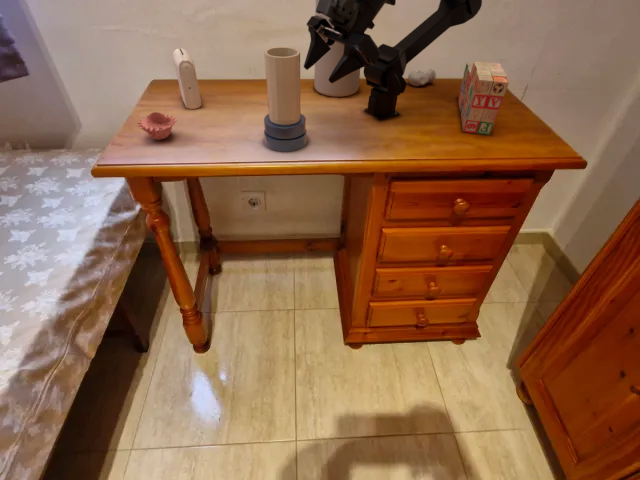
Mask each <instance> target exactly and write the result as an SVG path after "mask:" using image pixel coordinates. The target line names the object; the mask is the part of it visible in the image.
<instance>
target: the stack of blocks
mask: <svg viewBox="0 0 640 480" xmlns="http://www.w3.org/2000/svg"><path fill="white" fill-rule="evenodd" d="M509 85H510V81H509V80H508V76H507V74H506V72H505V70H504V68H503V66H502V65H501V63H498V62H487V61H486V62H485V61H473V62H466V64H465V66H464V72H463V76H462V81H461V84H460V89H459V92H458V96H457V99H458V108H459V111H460V112H459V113H460V117H461V127H462V132H463V133H470V134H479V135H487V136H490V134H491V132H492V130H493V127H494V126H495V121H496V118H497V117H498V113H499V110H500V108H501V106H502V103H503V101H504V97H505V94H506V92H507V89H508V87H509Z"/></svg>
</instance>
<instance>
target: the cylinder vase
mask: <svg viewBox="0 0 640 480" xmlns="http://www.w3.org/2000/svg"><path fill="white" fill-rule="evenodd" d="M318 2H319V0H315V9H316V8H317V5H318ZM314 12H315V15H314V16H319V17H322V18H325V19H326V20H327V21H328V23H329V24H330V25H331V26H332V28H334V26H333V25H332V24H331V23H330V22H329V19H330V18H329V17H327V16H325V15H324V14H322V13H320V14H319V13H317V12H316V10H315V11H314ZM329 47H330V48H331V49H330V50H329V51H328V52H327V53H326V54H325V55H324V56H323V57H322V58H321V59H320V60H318V61H317V62H316V63H315V64H314V75H313V77H314V83H313V86H314V89H315V91H316V92H318V93H319V94H321V95H323V96H326V97H335V98H342V97H349V96H351V95H354V94H356V93H357V92H358V90H359V88H360V80H361V79H360V77H361V68H360V69H358V70H356V71H354V72H352V73H350V74H348V75H346V76H344V77H343V78H341V79H339V80H337V81H336V82H334V83H330V82H329V80H328V79H329V77H330V75H331V73H332V72H333V70H334V69H335V67H336V65H337V64H338V62H339V61H340V59H341V57H342V56H343V53H344V45H343V44H341V43H339V42H336V41H335V43H334V44H333V45H331V46H329Z"/></svg>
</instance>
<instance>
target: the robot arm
mask: <svg viewBox="0 0 640 480" xmlns="http://www.w3.org/2000/svg"><path fill="white" fill-rule="evenodd" d="M396 3H397V1H396V0H319V2H318V5H317V8H316V7H315V11H316V12H317V13H319V14H320V13H322V14H324V15H325V16H327V17H329V18H330V19H329V22H330V23H331V24H332V25H333V26H334V28H332V26H331V25H330V24H329V23H328V21H327V20H326V19H325V18H322V17H319V16H315V15H311V16H310V18H309V20H307V22H306V26H307V27H308V28H307V31H308V33H309V35H310V42H309V47H308V50H307V54H306V57H305V60H304V63H303V68H304V69H305V70H306V71H308V70H309V69H311V68H312V67H313V66H315V63H316V62H317V61H318V60H320V59H321V58H322V57H323V56H324V55H325V54H326V53H327V52H328V51H329V50H330V49H331V48H330V47H329V46H331V45H333V44H334V43H335V41H336V42H339V43H341V44H343V45H344V53H343V56H342V57H341V59H340V61H339V62H338V64H337V65H336V67H335V69H334V70H333V72H332V73H331V75H330V77H329V79H328V80H329V82H330V83H334V82H336V81H337V80H339V79H341V78H343V77H344V76H346V75H348V74H350V73H352V72H354V71H356V70H358V69H360V70H361V69H362V68H363V77H364V78H365V82H366V85H367V86H369V87H371V88H370V94H369V96H368V101H367V107H366V108H364V112H365V113H367V114H368V115H370V116H372V118H375V119H377V120H378V121H384V120H387V119H390V118H391V119H392V118H394V117H398V116H400V112H398V110H396V108H397V103H398V96H400V95H401V94H404V92H405V91H406V89H407V86H408V82H407V81H406V80H405V78H404V74H405V71H406V68H407V66H408V64H409V63H410V62H411V61H412V60H414V59H415V58H416V57H417V56H418V55H419V54H420V53H422V52H423V51H425V49H426V48H427V47H428V46H430V45H431V44H432V43H433V42H435V41H436V40H437V39H438V38H440V37H441V35H443V34H444V33H446V32H447V30H449V29H450V28H453V27H455V26H459V25H463V24H466V23H467V22H468V21H470V20H472V19H473V18H475V17H476V16H477V14H478V13H479V11H480V10H481V8H482V5H483V0H440V1H439V4H438V7H437V9H436V10H435V11H434V12H433V13H432V14H431V15H430V16H428V17H427V18H426V19H425V20H423V21H422V22H421V23H420V24H419V25H418V26H416V27H415V28H414V29H413V30H412V31H411V32H409V33H408V34H407V35H406V36H405V37H403V38H402V39H400V41H399V42H398V43H396V44H395V45H393V46H391V45H388V44H385V43H382V44H380V45H379V46H377V44H376V42H375V41H374V40H373V38H372V37H371V35H370V34H368V33H366V31H367V30H368V29H369V30H373V29H374V27H375V26H376V25H375V23H374V20H375V18H376V17H377V15H378V14H379V13H380V12H381V10H382V9H383V8H384V5H385V4H386V5H390V6H393V7H394V6H395V5H396Z"/></svg>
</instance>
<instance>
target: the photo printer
mask: <svg viewBox="0 0 640 480" xmlns="http://www.w3.org/2000/svg"><path fill="white" fill-rule="evenodd" d="M172 61H173V64H174V67H175V69H174V70H175V72H176V77H177V81H178V87H179V91H180V95H181V98H182V102H183V103H184V106H185V107H186V108H188V109H190V110H194V109H199V108H200V107H202V99H201V93H200V88H199V81H198V77H197V72H196V66H195V62H194V59H193V57H192V55H191V54H190V52H189V51H188V50H187V49H186V48H183V47H180V48H178V47H177V48H176V49H175V50H174V51H173V53H172Z"/></svg>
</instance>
